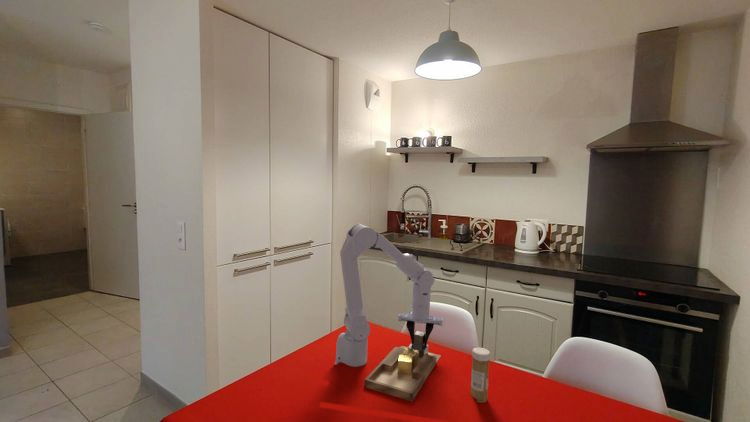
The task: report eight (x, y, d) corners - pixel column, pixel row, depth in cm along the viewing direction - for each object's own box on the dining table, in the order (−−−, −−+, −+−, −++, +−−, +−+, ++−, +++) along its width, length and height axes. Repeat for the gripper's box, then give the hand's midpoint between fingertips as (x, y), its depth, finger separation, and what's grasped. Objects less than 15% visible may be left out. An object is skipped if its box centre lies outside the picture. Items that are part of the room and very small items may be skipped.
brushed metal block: (407, 354, 117) (408, 335, 117) (412, 348, 122) (413, 330, 121) (423, 358, 115) (424, 339, 114) (428, 352, 120) (429, 333, 119)
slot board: (364, 389, 99) (364, 379, 98) (401, 348, 124) (401, 340, 124) (412, 404, 93) (412, 393, 92) (440, 358, 118) (441, 349, 118)
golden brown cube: (397, 373, 106) (398, 360, 106) (399, 366, 110) (399, 354, 109) (411, 375, 105) (411, 362, 105) (412, 368, 109) (412, 355, 109)
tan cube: (401, 365, 111) (402, 353, 110) (406, 359, 114) (406, 347, 114) (414, 368, 109) (414, 356, 109) (418, 363, 112) (418, 350, 112)
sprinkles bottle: (490, 400, 96) (493, 352, 95) (479, 405, 93) (482, 356, 92) (477, 391, 100) (480, 345, 99) (466, 396, 97) (468, 349, 96)
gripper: (397, 305, 116) (395, 346, 117) (443, 310, 113) (440, 352, 114) (400, 299, 122) (399, 337, 124) (443, 303, 119) (441, 342, 121)
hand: (419, 343), depth 119 cm, fingers closed on brushed metal block, 4 cm apart
